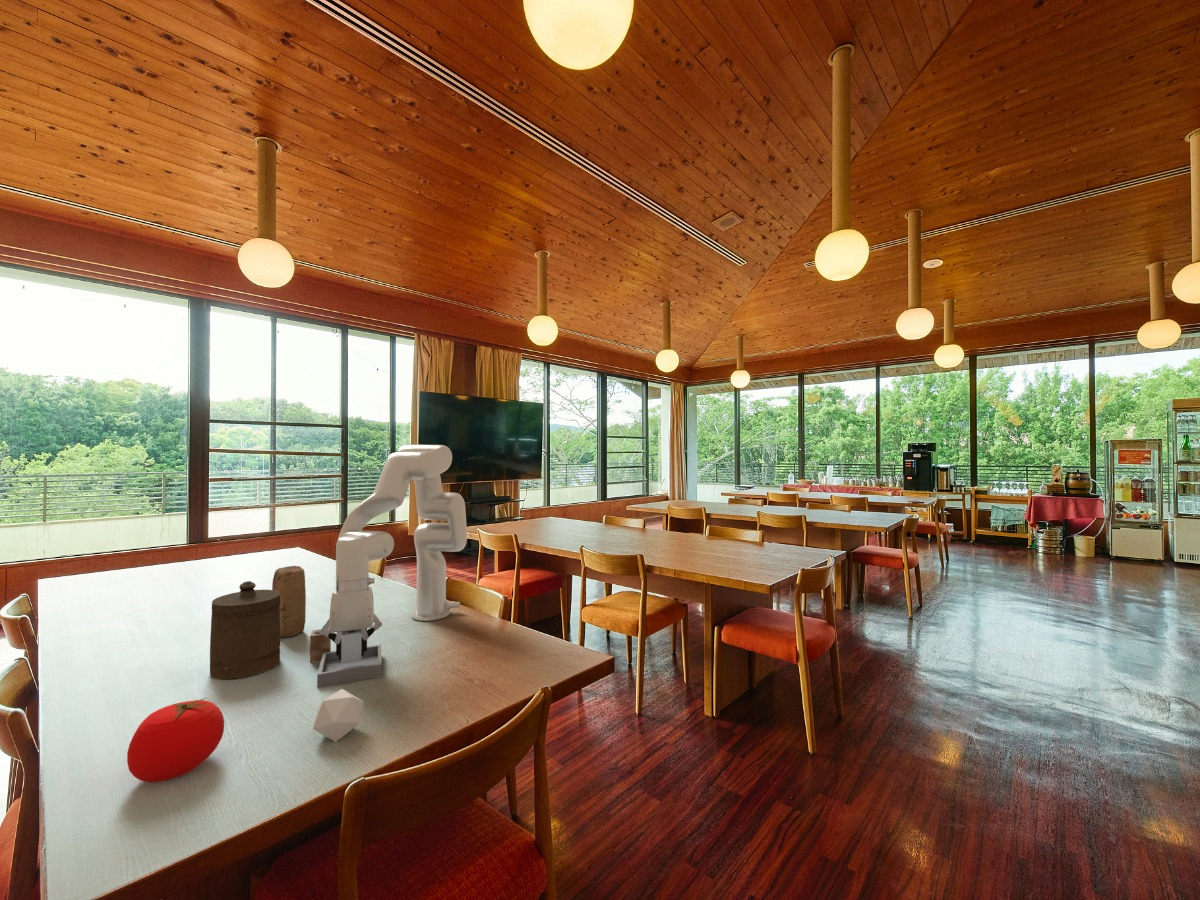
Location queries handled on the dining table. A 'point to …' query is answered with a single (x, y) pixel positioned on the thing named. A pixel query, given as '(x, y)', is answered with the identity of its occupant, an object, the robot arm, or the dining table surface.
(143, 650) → the dining table surface
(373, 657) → the tray
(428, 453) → the robot arm
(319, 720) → the die
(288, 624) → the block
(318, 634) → the walnut block
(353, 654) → the grey rectangular block
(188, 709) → the tomato
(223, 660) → the wooden container
